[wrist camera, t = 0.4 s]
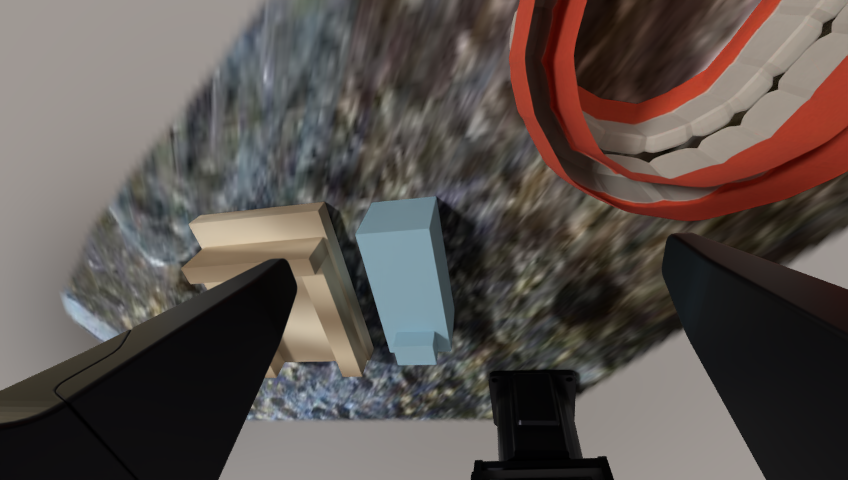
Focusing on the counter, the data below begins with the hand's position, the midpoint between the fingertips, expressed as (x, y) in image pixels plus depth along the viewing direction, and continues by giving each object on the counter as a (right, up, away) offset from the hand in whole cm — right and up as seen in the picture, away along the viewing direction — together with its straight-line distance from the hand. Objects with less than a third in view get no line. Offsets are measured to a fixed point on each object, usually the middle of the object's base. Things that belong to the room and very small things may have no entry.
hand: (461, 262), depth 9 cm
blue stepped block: (-1, -1, +16) cm, 17 cm away
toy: (+9, +10, +9) cm, 15 cm away
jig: (-10, -3, +19) cm, 22 cm away
